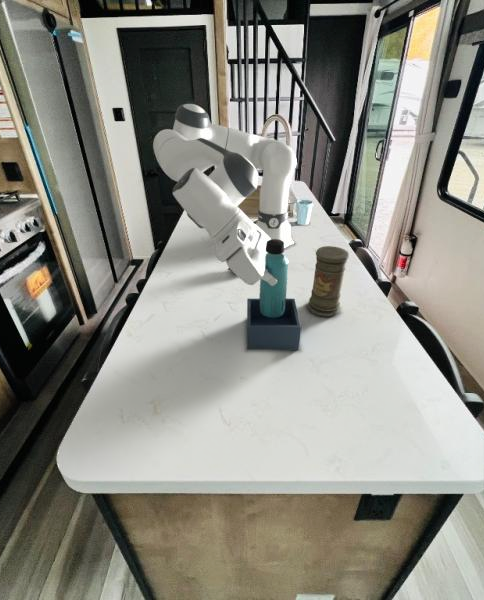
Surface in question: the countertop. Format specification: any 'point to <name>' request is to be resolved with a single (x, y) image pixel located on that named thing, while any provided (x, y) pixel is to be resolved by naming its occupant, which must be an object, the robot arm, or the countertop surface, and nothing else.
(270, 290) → the beverage bottle
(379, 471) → the countertop surface
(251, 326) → the tote
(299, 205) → the cup
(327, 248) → the container
